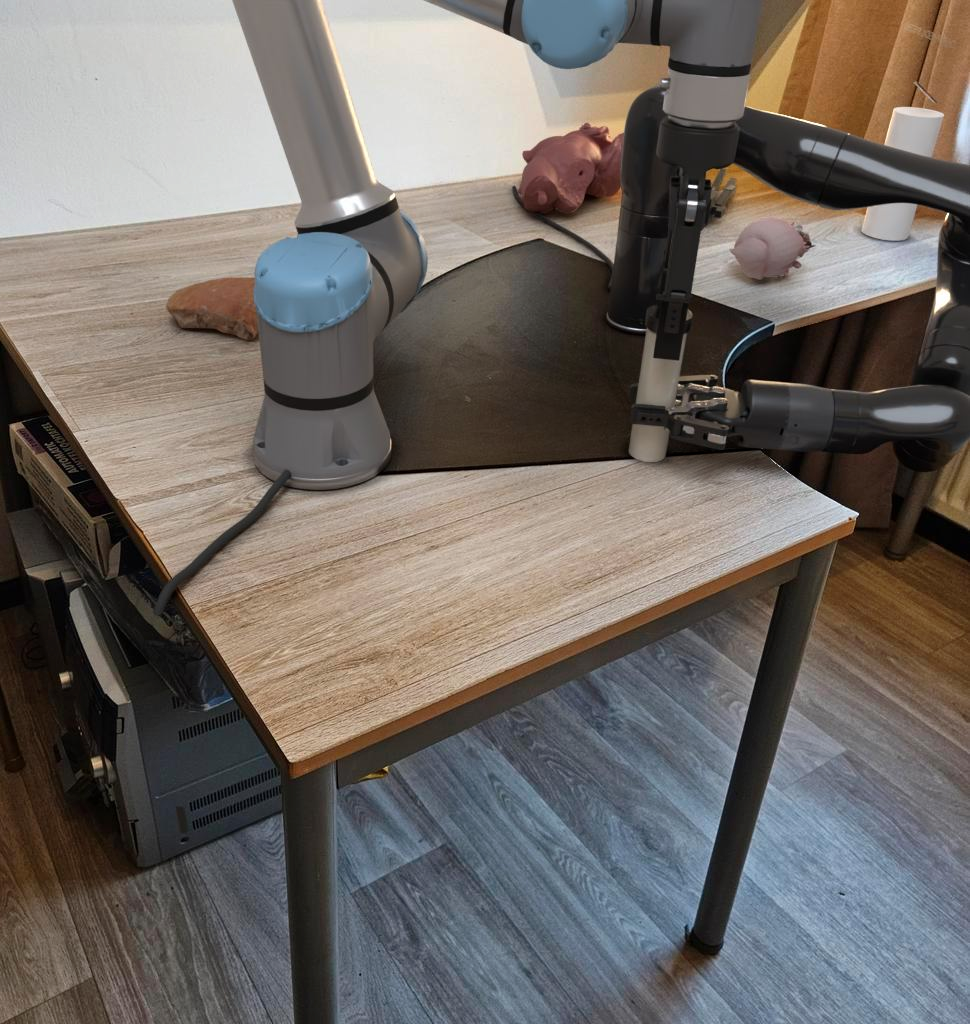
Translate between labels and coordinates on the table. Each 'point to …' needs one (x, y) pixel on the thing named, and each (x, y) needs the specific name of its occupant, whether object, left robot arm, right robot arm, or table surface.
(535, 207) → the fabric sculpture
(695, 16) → the left robot arm
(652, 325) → the lid
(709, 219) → the toy
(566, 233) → the right robot arm
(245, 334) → the ceramic shard
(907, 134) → the tall white tube
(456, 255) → the table surface
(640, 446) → the beige cylinder
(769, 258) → the toy
